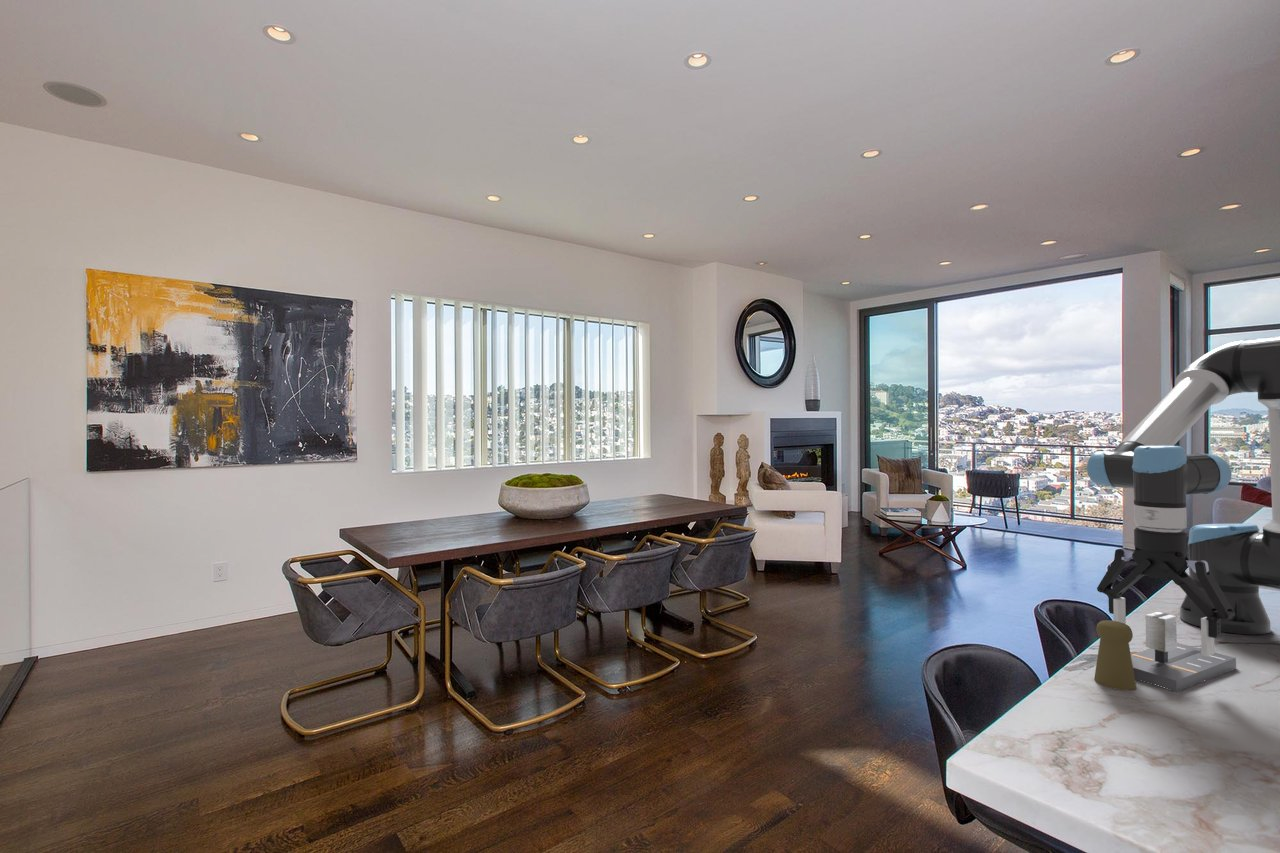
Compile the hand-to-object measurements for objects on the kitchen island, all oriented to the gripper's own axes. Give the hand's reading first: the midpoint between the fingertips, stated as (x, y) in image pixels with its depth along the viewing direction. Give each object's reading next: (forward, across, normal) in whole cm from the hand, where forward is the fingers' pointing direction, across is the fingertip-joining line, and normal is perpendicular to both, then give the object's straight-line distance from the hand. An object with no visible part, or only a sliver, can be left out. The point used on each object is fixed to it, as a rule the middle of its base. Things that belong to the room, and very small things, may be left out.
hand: (1161, 642), depth 114 cm
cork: (+6, -2, -12) cm, 13 cm away
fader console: (+6, 0, +4) cm, 7 cm away
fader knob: (+4, 0, 0) cm, 4 cm away
